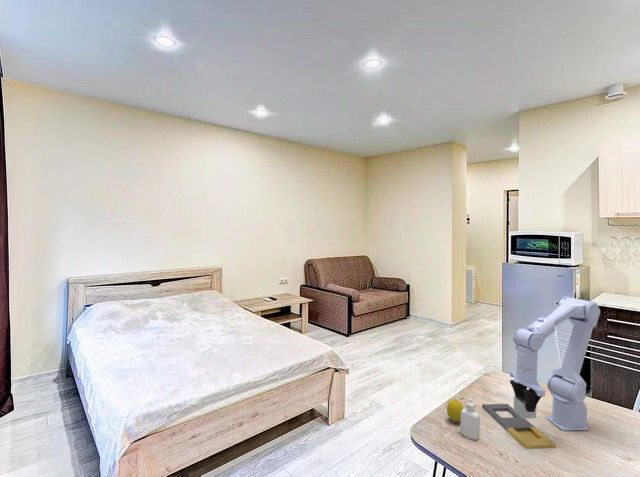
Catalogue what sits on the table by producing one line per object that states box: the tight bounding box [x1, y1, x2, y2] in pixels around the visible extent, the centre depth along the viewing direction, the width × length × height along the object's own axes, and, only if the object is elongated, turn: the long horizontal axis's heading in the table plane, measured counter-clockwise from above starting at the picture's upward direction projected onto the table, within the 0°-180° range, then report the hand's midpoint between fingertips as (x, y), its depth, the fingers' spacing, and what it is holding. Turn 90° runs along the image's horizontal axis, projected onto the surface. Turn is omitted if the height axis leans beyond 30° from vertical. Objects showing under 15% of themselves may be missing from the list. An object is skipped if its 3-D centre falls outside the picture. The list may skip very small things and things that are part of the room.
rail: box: [481, 403, 557, 449], centre depth 115 cm, size 10×24×1 cm, turn 4°
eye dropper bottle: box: [459, 398, 481, 441], centre depth 109 cm, size 4×6×12 cm
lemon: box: [446, 398, 465, 423], centre depth 117 cm, size 6×6×8 cm
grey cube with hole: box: [513, 395, 537, 419], centre depth 110 cm, size 4×4×5 cm
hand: (525, 407), depth 110 cm, fingers closed on grey cube with hole, 4 cm apart
